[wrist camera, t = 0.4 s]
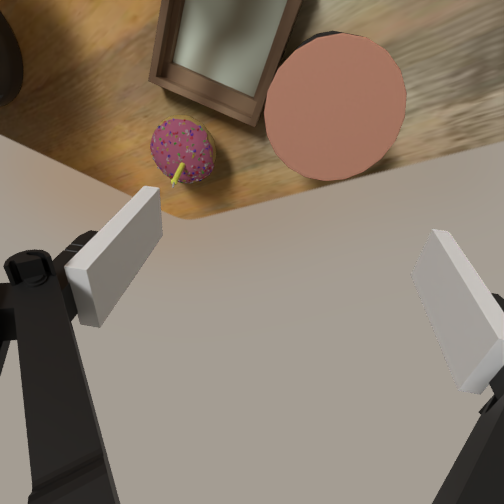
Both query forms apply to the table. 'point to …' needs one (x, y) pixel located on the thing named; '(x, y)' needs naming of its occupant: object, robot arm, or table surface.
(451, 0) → the table surface
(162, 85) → the walled box
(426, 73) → the table surface
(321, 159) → the coffee jar
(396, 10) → the table surface
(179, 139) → the cupcake
